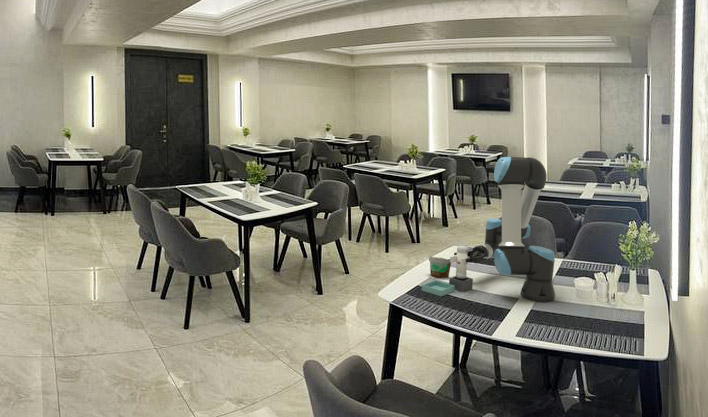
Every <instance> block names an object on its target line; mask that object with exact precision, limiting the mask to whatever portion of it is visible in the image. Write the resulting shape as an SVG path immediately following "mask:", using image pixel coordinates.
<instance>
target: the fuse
mask: <svg viewBox="0 0 708 417" xmlns="http://www.w3.org/2000/svg"><path fill="white" fill-rule="evenodd" d="M468 251H469V246H468V245H465V244H464V245H463V244H460V245H457V246H456V252H457V261H456V266H455V267H456V270H455V276H456V277H457V278H461V279H463V278H466V277H467V276H468V275H467V271H468V270H467V269H468V268H467V265H468V263H466V264H462V265H461V264H460V261H461V259H462V258H465V257H467V252H468Z"/></svg>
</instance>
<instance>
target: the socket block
mask: <svg viewBox="0 0 708 417" xmlns="http://www.w3.org/2000/svg"><path fill="white" fill-rule="evenodd" d="M448 278H449V280H448V284H451V285H454V286H455V290H454V291H458V292H461V293H466V292H467V291H469V290H472V289H473V283H474V282H473V281H474V278H472V277H469V276H466V278H463V279H461V278H457V277H456V275H455V276H451V277H448Z"/></svg>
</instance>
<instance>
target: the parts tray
mask: <svg viewBox="0 0 708 417" xmlns="http://www.w3.org/2000/svg"><path fill="white" fill-rule="evenodd" d="M455 291H456V290H455V286H454V285H451V284H449V283H447V282H443V281H440V280H435V279H434V280H433V281H430V282H428V283H424V284H421V292H425V293H429V294H431V295H434V296H436V297H437V296H438V297H443V296H446V295H448V294H452V293H454V292H455Z"/></svg>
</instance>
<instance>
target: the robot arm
mask: <svg viewBox="0 0 708 417" xmlns="http://www.w3.org/2000/svg"><path fill="white" fill-rule="evenodd" d="M495 163H496V164H495V166H494V170H493V171H494V172H493V178H494V179H493V180H494V182H496V183H497V184H498V185H497V186H498V188H499V189H500V190H501V219H499V218H488V219H487V220H486V223H485V234H484V235H485V236H484V244H483V243H482V244H479V245H477V246H474V247H473V248H472V249H471V250H468V252H467V257H465V258H462V259H461V261H460V264H461V265H462V264H466V263H467V264H469V263H474V264H477V263H479V262H483V261H487V259H491V258H493V262H494V266H495V269H496V271H497V273H499V274H500V275H501V276H502V275H503V276H504V275H505V276H526V277H525V280H524V283H523V285H522V287H521V288H520V296H521V297H522V298H524V299H526V300H529V301H532V302H533V301H534V302H542V303H544V302H545V303H547V302H553V301H555V299H556V292H555V287H554V284H553V280H554V279H553V276H554V268H555V262H556V260H555V256H556V255H555V252H554V250H552V249H550V248H547V247H544V246H540V245H538V246H537V245H529V246H528V249H525V247H526V246H525V244H523V242H522V239H527V238H529V237H530V236H531V230H532V229H531V225H530V224H529V223H530V220H531V217H532V215H533V213H534V209H535V207H536V204H537V201H538V199H539V197H540V193H541V190H543V189H544V188H545V186H546V184H547V178H548V177H547V176H548V175H547V170H546V168H545V166H544V164H543V163H542V162H541V161H540V160H539V159H537V158H535V157H530V156H529V157H523V156H522V157H521V156H520V157H519V156H518V157H517V156H504V157H500V158H499V159H498V160H497V162H495ZM522 189H523V190H522ZM449 259H450V262H452V263H454V262H457V251H456V252H454V253H453V255H451V256H450V257H449Z"/></svg>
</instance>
